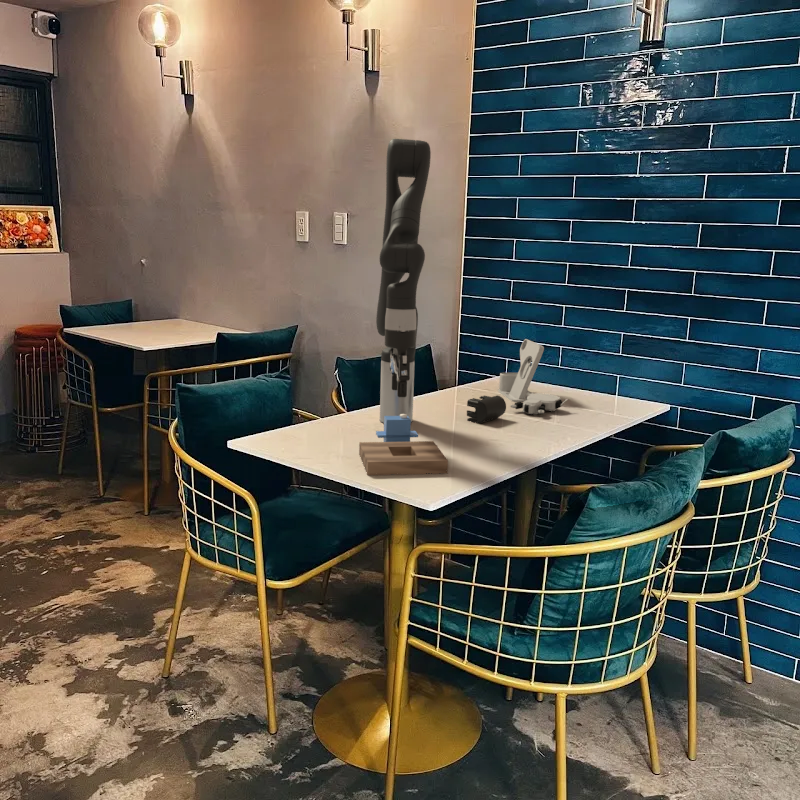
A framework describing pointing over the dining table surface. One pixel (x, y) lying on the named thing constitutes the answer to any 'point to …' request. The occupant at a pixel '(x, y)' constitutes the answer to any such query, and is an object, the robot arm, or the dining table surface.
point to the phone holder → (521, 373)
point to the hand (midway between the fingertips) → (398, 393)
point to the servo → (397, 429)
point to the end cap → (486, 408)
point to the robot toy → (539, 403)
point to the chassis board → (402, 458)
